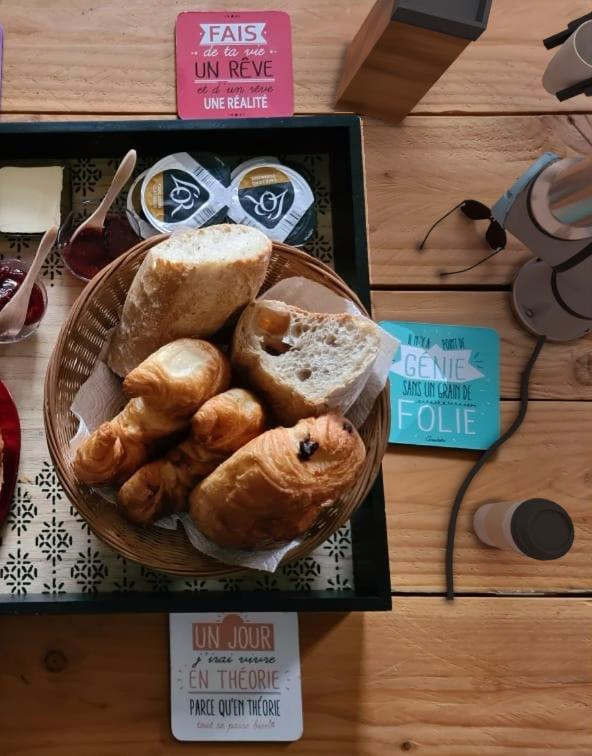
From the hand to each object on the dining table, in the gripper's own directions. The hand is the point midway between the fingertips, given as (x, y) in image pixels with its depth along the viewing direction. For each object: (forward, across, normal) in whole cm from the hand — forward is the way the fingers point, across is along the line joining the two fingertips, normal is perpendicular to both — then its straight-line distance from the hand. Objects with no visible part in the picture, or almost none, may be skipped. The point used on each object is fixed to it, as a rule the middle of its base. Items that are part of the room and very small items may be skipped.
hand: (551, 71), depth 113 cm
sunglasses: (+20, -21, -4) cm, 29 cm away
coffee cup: (+22, -68, -2) cm, 72 cm away
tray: (+8, +10, +20) cm, 23 cm away
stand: (+26, +10, +2) cm, 28 cm away
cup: (0, 0, -5) cm, 5 cm away
